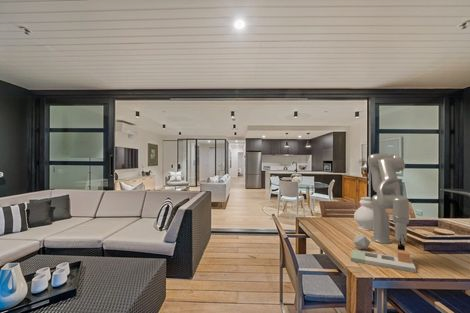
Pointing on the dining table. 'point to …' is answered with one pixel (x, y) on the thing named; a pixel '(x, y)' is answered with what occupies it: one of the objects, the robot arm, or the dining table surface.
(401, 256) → the block
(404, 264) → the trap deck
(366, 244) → the die
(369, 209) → the decorative vase
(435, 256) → the dining table surface
